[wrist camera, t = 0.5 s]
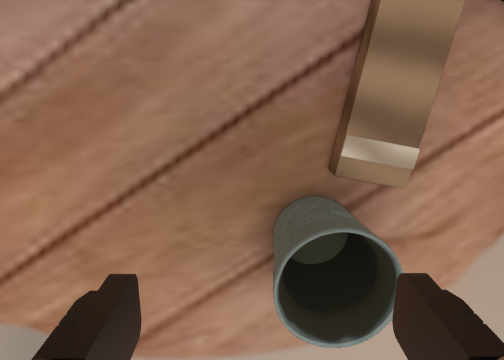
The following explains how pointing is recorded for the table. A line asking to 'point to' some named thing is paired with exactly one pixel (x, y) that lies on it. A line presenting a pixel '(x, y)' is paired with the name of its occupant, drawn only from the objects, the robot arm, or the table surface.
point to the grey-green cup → (331, 274)
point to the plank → (393, 88)
